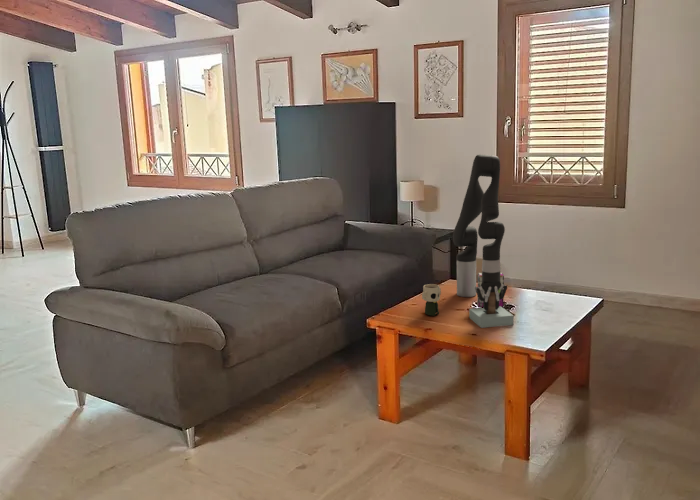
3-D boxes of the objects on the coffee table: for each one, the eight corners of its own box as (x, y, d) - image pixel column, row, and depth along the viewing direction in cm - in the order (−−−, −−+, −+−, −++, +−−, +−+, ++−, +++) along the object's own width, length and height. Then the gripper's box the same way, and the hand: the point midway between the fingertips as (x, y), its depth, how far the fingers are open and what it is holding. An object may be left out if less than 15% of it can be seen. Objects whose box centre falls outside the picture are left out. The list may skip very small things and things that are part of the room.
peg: (485, 318, 276) (485, 290, 274) (493, 317, 277) (493, 290, 274) (488, 320, 272) (488, 293, 270) (496, 320, 273) (496, 292, 271)
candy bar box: (478, 311, 289) (478, 275, 286) (477, 308, 294) (477, 272, 291) (503, 311, 288) (504, 274, 285) (502, 307, 293) (502, 272, 290)
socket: (469, 317, 280) (469, 308, 280) (500, 315, 283) (500, 306, 282) (481, 327, 267) (481, 318, 266) (513, 324, 269) (513, 315, 268)
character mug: (428, 319, 281) (428, 289, 278) (417, 315, 287) (416, 286, 284) (446, 313, 287) (446, 285, 285) (435, 310, 293) (434, 282, 290)
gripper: (503, 266, 275) (503, 305, 278) (471, 268, 273) (471, 308, 276) (511, 270, 268) (510, 310, 271) (478, 273, 266) (478, 313, 269)
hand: (491, 309), depth 274 cm, fingers open, 3 cm apart
